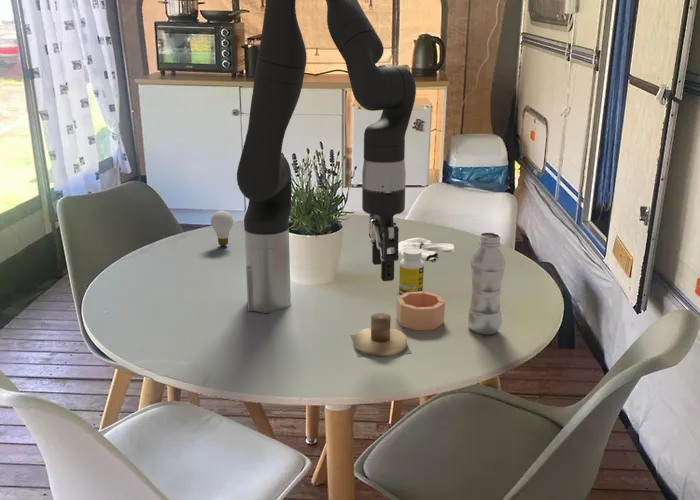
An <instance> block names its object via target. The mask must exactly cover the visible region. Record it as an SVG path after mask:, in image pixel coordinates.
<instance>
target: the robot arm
mask: <svg viewBox="0 0 700 500" xmlns="http://www.w3.org/2000/svg"><path fill="white" fill-rule="evenodd" d="M325 1H326V6H327V8H326V9H327V10H326V11H327V12H326V23H327V29H328V33H329V34H330V38H331V40H332V42H333V43H334V46H336V49H337V51H338V52H339V53H340V55H341V56H342V59H343V61H345V65H346V71H347V75H348V77H349V78H348V79H349V81H350V82H349V83H350V87H351V91H352V95H353V97H354V99H355V100H356V102H357V103H358V104H359V105H360V106H361V107H362V108H364V109H365V110H366V111H370V112H371V111H373V112H375V111H382V113H381V115H380V118H379V119H378V120H376V121H375V122H374V123H371V124H370V125H368V126H367V127H366V128H365V130H364V132H363V165H362V172H361V173H362V176H361V177H362V178H361V179H362V180H361V183H362V185H361V188H362V189H361V191H362V192H361V193H362V197H361V199H362V204H361V208H362V211H363V212H364V213H366V214H368V215H369V228H368V229H369V234H368V237H369V239H370V244H371V248H372V249H371V253H372V254H371V256H372V257H371V262H372V264H373V265H374V266H377V265H379V266H380V278H381V281H383V282H392V281H394V279H395V261H399V258H400V257H399V252H398V243H399V232H400V229H399V227H398V226H397V223H396V222H394V217H395V215H399V214H402V213H404V211H405V208H406V206H405V205H406V180H407V178H406V164H405V163H406V162H405V155H406V154H405V152H406V150H405V149H406V146H405V144H406V141H405V140H406V139H405V138H406V133H407V130H408V127H409V123H410V120H411V116H412V111H413V108H414V105H415V102H416V95H417V87H416V80H415V77H414V75H413V74H412V72H411V71H410V69H408V68H407V67H405V66H403V65H386V66H377V65H376V64H378V62H379V61H380V60H381V59H382V57H383V55H384V45H383V42H382V40H381V39H380V37H379V35H378V33H377V32H376V30H375V28H374V26H373V25H372V23H371V21H370V20H369V18H368V17H367V15H366V13H365V12H364V10H363V8H362V6H361V5H360V2H359V1H358V0H325ZM296 2H297V1H296V0H265V6H264V14H263V22H262V30H261V37H260V42H259V43H260V44H259V48H258V52H257V58H256V64H255V71H254V78H253V89H252V93H251V94H252V95H251V101H250V109H249V117H248V119H249V120H248V126H247V131H246V136H245V139H244V144H243V148H242V151H241V156H240V157H239V158H240V159H239V161H238V162H239V163H238V166H237V170H236V180H237V181H236V182H237V186H238V189H239V191H240V192H241V193H242V195H243V196H244V197H245V198H246V199H248V205H247V208H246V212H245V215H244V218H243V227H244V230H243V231H244V246H245V250H244V251H245V272H246V273H245V274H246V276H245V277H246V294H247V295H246V296H247V299H246V300H247V311H248V312H250V311H251V312H252V311H254V312H256V313H257V312H258V313H265V314H266V313H271V312H275V311H279V310H280V311H281V310H282V309H283V310H284V309H286V308H290V306H291V304H292V303H291V302H292V301H291V299H292V298H291V296H292V295H291V294H292V293H291V261H290V260H291V259H290V258H291V257H290V254H291V253H290V224H289V223H290V217H291V213H292V170H291V167H290V164H289V162H288V160H287V158H286V157H285V156H284V154H282V151H283V142H284V138H285V134H286V132H287V128H288V126H289V123H290V121H291V118H292V117H293V114H294V111H295V110H296V107H297V104H298V101H299V99H300V95H301V92H302V88H303V83H304V78H305V72H306V66H307V59H308V56H307V50H306V46H305V45H306V44H305V41H304V39H303V35H302V32H301V29H300V26H299V23H298V22H299V20H298V18H297V10H296ZM388 249H389V250H390V252H391V253H388Z"/></svg>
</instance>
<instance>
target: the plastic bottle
mask: <svg viewBox="0 0 700 500" xmlns="http://www.w3.org/2000/svg"><path fill="white" fill-rule="evenodd" d="M478 244H479V247H478V248H477V249H476V250H475V251H474V252H473V254H472V256H471V257H470V258H471V259H470V269H471V286H472V288H471V297H470V298H471V300H470V306H469V308H468V309H469V310H468V313H467V317H466V318H467V325H468V327H469V329H470V330H471V331H472V332H473V333H475V334H479V335H486V336H487V335H489V336H490V335H493V334H496V333H498V332H499V331H500V330H501V326H502V322H503V319H502V318H503V317H502V311H501V310H502V309H501V289H502V282H503V277H504V274H505V267H506V258H505V257H504V254H503V252H502V251H501V250H500V248H499V247H500V246H501V235H500V234H499V233H495V232H482V233H481V234H480V236H479V241H478Z"/></svg>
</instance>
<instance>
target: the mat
mask: <svg viewBox="0 0 700 500" xmlns="http://www.w3.org/2000/svg"><path fill="white" fill-rule="evenodd" d="M354 336H355V334H351V335H350V338H351V341H352V343H353V347H354V350H355V352H356V356H357V358H363V357H364V358H365V357H373V356H372V355H367V354H364V353H362V352H360V351H358V350H357V349H356V348H355V346H354ZM410 354H412V351H411V349H410V347H409V344H407V347H406V349H405V350H404V351H403V352H401V353H399V354H396V355H410ZM396 355H395V356H396Z"/></svg>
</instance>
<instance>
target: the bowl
mask: <svg viewBox="0 0 700 500" xmlns="http://www.w3.org/2000/svg"><path fill="white" fill-rule="evenodd" d="M445 305H446V302H445V300H444V299H443V297H442V296H441V295H440V294H436V293H433V292H428V291H420V292H406V293H404V294H401V295H400V296H397V297H396V313H395V314H396V320H397V322H398V324H399V326H400V327H404V328H407V329H410V330H413V331H428V330H429V331H430V330H435V329H438V328H439V327H440V326H441V325H443V324H444V323H445V310H446V309H445V308H446V306H445Z"/></svg>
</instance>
